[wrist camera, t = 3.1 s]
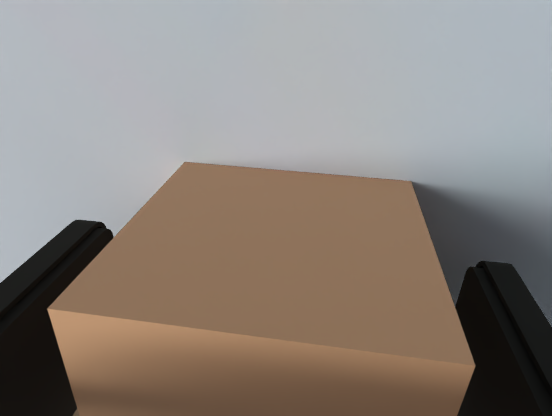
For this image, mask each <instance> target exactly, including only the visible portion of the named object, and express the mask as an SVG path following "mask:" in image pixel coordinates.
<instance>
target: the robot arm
mask: <svg viewBox="0 0 552 416" xmlns="http://www.w3.org/2000/svg"><path fill="white" fill-rule="evenodd" d="M112 239H113V234H112V232H111V230H109V229H106V226H105V225H104V223H102V222H96V221H86V220H75V221H73V222H72V223H71V224H69V225H68V226H67V227H66V228H65V229H63V230H62V231H61V232H60V233H59V234H58V235H56V236H55V237H54V238H53V239H52V240H50V241H49V242H48V243H47V244H46V245H45V246H43V247H42V248H41V249H40V250H39V251H38V252H36V253H35V254H34V255H33V256H32V257H30V258H29V259H28V260H27V261H26V262H25V263H23V264H22V265H21V266H20V267H19V268H18V269H16V270H15V271H14V272H13V273H12V274H10V275H9V276H8V277H7V278H6V279H5V280H3V281H2V282H1V283H0V416H73V414H74V413H75V411H76V410H77V405H76V402H75V399H74V395H73V392H72V389H71V386H70V382H69V379H68V376H67V372H66V369H65V366H64V362H63V359H62V356H61V353H60V349H59V346H58V343H57V339H56V336H55V333H54V329H53V326H52V323H51V319H50V316H49V313H48V310H47V308H48V307H49V306H50V305H51V304H52V303H53V302H54V301H55V300H56V299H57V298H58V297H59V296H60V295H61V293H62V292H63V291H64V290H65V289H66V288H67V287H68V286H69V285H70V284H71V283H72V282H73V281H74V280H75V279H76V277H77V276H78V275H79V274H80V273H81V272H82V271H83V270H84V269H85V268H86V267H87V266H88V265H89V264H90V263H91V261H92V260H93V259H94V258H95V257H96V256H97V255H98V254H99V253H100V252H101V251H102V250H103V249H104V248H105V247H106V245H107V244H108V243H109V242H110V241H111V240H112ZM455 309H456V311H457V314H458V317H459V320H460V323H461V326H462V329H463V331H464V334H465V337H466V340H467V343H468V346H469V349H470V352H471V354H472V357H473V360H474V363H475V369H474V371H473V374H472V377H471V379H470V382H469V385H468V388H467V390H466V393H465V396H464V398H463V401H462V404H461V407H460V409H459V412H458V415H457V416H552V327H551V325H550V324H549V322H548V321H547V319H546V317H545V316H544V314H543V313H542V311H541V309H540V308H539V306H538V305H537V303H536V301H535V300H534V298H533V297H532V295H531V293H530V292H529V290H528V289H527V287H526V285H525V284H524V282H523V281H522V279H521V277H520V276H519V274H518V273H517V271H516V269H515V268H514V267H513V266H512V264H508V263H498V262H489V261H480V262H478V264H477V265H476V267H469V268H468V269H467V271H466V274H465V277H464V280H463V284H462V287H461V290H460V294H459V297H458V300H457V303H456V307H455Z"/></svg>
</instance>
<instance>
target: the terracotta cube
mask: <svg viewBox="0 0 552 416" xmlns="http://www.w3.org/2000/svg"><path fill="white" fill-rule="evenodd" d="M47 310H48V313H49V316H50V319H51V323H52V326H53V329H54V333H55V336H56V339H57V343H58V346H59V349H60V353H61V356H62V359H63V362H64V366H65V369H66V372H67V376H68V379H69V382H70V386H71V389H72V392H73V395H74V399H75V402H76V405H77V409H78V412H79V415H80V416H457V415H458V412H459V409H460V407H461V404H462V401H463V398H464V396H465V393H466V390H467V388H468V385H469V382H470V379H471V377H472V374H473V371H474V369H475V363H474V360H473V357H472V354H471V352H470V349H469V346H468V343H467V340H466V337H465V334H464V331H463V329H462V326H461V323H460V320H459V317H458V314H457V311H456V309H455V306H454V303H453V300H452V297H451V294H450V291H449V289H448V286H447V283H446V280H445V277H444V274H443V271H442V268H441V266H440V263H439V260H438V257H437V254H436V251H435V248H434V246H433V243H432V240H431V237H430V234H429V231H428V228H427V226H426V223H425V220H424V217H423V214H422V211H421V208H420V205H419V203H418V200H417V197H416V194H415V191H414V188H413V185H412V183H411V181H402V180H390V179H379V178H367V177H355V176H343V175H332V174H320V173H308V172H296V171H284V170H273V169H261V168H249V167H237V166H226V165H214V164H202V163H190V162H184V163H183V164H182V165H181V167H180V168H179V169H178V170H177V171H176V172H175V173H174V174H173V175H172V176H171V177H170V178H169V179H168V180H167V181H166V183H165V184H164V185H163V186H162V187H161V188H160V189H159V190H158V191H157V192H156V193H155V194H154V195H153V196H152V197H151V199H150V200H149V201H148V202H147V203H146V204H145V205H144V206H143V207H142V208H141V209H140V210H139V211H138V212H137V213H136V215H135V216H134V217H133V218H132V219H131V220H130V221H129V222H128V223H127V224H126V225H125V226H124V227H123V228H122V229H121V231H120V232H119V233H118V234H117V235H116V236H115V237H114V238H113V239H112V240H111V241H110V242H109V243H108V244H107V245H106V247H105V248H104V249H103V250H102V251H101V252H100V253H99V254H98V255H97V256H96V257H95V258H94V259H93V260H92V261H91V263H90V264H89V265H88V266H87V267H86V268H85V269H84V270H83V271H82V272H81V273H80V274H79V275H78V276H77V277H76V279H75V280H74V281H73V282H72V283H71V284H70V285H69V286H68V287H67V288H66V289H65V290H64V291H63V292H62V293H61V295H60V296H59V297H58V298H57V299H56V300H55V301H54V302H53V303H52V304H51V305H50V306H49V307H48V308H47Z"/></svg>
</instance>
